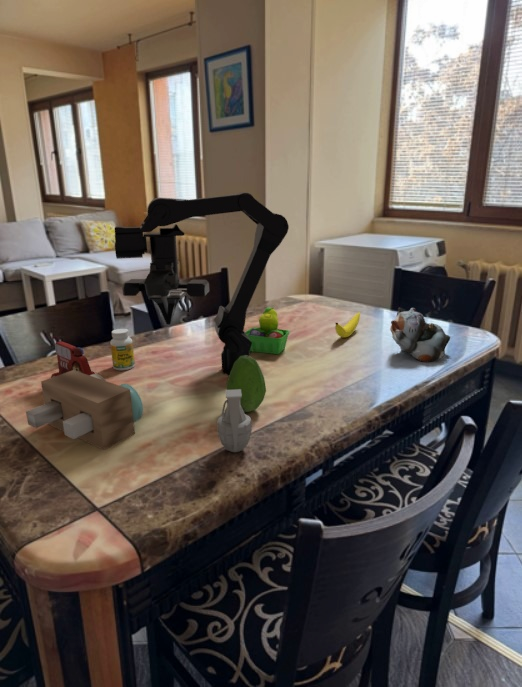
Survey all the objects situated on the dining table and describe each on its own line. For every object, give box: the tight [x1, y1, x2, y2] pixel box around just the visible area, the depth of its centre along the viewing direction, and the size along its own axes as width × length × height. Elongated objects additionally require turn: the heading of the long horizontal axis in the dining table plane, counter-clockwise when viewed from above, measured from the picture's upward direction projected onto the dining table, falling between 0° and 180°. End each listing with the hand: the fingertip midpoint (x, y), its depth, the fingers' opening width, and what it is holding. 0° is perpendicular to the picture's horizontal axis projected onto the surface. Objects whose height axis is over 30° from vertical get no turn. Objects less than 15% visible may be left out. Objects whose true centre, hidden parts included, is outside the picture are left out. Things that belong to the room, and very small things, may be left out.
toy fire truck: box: [50, 341, 97, 378], centre depth 111 cm, size 7×12×10 cm, turn 49°
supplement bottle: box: [109, 328, 136, 371], centre depth 124 cm, size 5×5×10 cm
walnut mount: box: [25, 370, 136, 451], centre depth 92 cm, size 15×17×9 cm
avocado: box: [225, 355, 267, 413], centre depth 99 cm, size 8×8×12 cm
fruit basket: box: [244, 306, 290, 355], centre depth 135 cm, size 11×9×11 cm
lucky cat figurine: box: [389, 307, 451, 363], centre depth 130 cm, size 15×12×14 cm
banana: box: [334, 312, 361, 339], centre depth 147 cm, size 3×19×6 cm, turn 150°
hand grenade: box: [216, 389, 253, 453], centre depth 84 cm, size 6×6×11 cm
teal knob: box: [63, 383, 144, 440], centre depth 90 cm, size 13×8×8 cm, turn 144°
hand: (169, 324), depth 115 cm, fingers closed
